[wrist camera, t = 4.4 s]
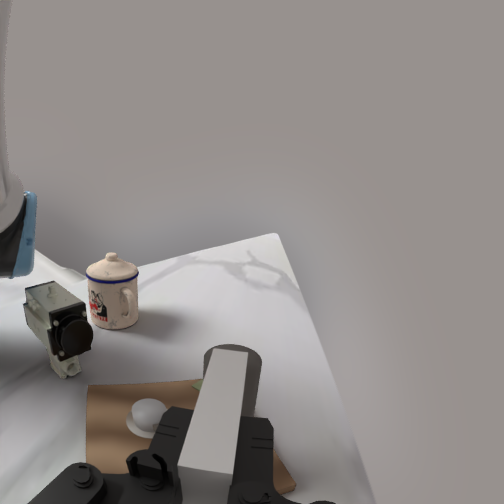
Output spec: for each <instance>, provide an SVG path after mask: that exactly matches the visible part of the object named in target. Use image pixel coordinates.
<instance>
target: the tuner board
mask: <svg viewBox="0 0 504 504" xmlns="http://www.w3.org/2000/svg"><path fill="white" fill-rule="evenodd" d="M202 384H203V379H196V380H186V381H174V382H161V383H144V384H120V385H88V392H87V412H86V463H89V464H91V465H93V466H95V467H96V468H98V469H99V470H100V471H101V473H108V474H125V473H129V470H128V467H127V464H126V459H127V458H128V456H129V455H130V454H132V453H134V452H135V451H138V450H144V449H148V448H149V446H150V443H151V441H152V439H153V436H154V434H155V432H145V431H142V430H140V429H138V428H137V427H136V426H135V424H134V421H133V415H132V406H133V405H134V403H136V402H137V401H139V400H142V399H148V398H149V399H156V400H158V401H160V402H162V403H163V404H164V405H165V406H166V410H168V409H169V408H170V407H171V406H175V407H180V408H186V409H191V410H194V409H195V406H196V403H197V400H198V397H199V393H200V390H201V387H202ZM273 483H274V487H275V489H276V491H277V492H278V493H279V494H280V495H281V494H284V493H287V492H290V491H293V490H294V489H295V486H296V483H295V481H294V480H293V478H292V477H291V475H290V474H289V472H288V471H287V469H286V468H285V466H284V465H283V463H282V461H281V460H280V458H279V457H278V455H277V454H276V452H275V450H274V449H273Z"/></svg>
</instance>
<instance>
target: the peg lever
mask: <svg viewBox="0 0 504 504" xmlns="http://www.w3.org/2000/svg"><path fill="white" fill-rule="evenodd" d="M214 348H216V349H224V350H232V351H240V352H248V358H247V367H246V376H245V385H244V393H243V402H242V410H241V416H247V417H254V411H255V404H256V398H257V392H258V385H259V379H260V372H261V365H262V360H261V357H260V356H259V355H258V354H257V353H256V352H255V351H253V350H252V349H250V348H247V347H244V346H241V345H234V344H224V345H218V346H215V347H213V348H211V349H209V350H208V351H207V352H206V353H205V355H204V371H203V381H204V377H205V374H206V371H207V368H208V365H209V361H210V358H211V355H212V352H213V349H214ZM166 411H167V410H166V406H165V405H164V404H163V403H162V402H160V401H158V400H156V399H149V398H148V399H142V400H139V401H137V402H136V403H134V405H133V406H132V415H133V421H134V424H135V426H136V427H137V428H138V429H140V430H142V431H145V432H155V431H156V429H157V427H158V426H159V422H160V420H161V417H162V415H163V413H164V412H166Z"/></svg>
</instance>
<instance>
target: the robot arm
mask: <svg viewBox="0 0 504 504" xmlns="http://www.w3.org/2000/svg"><path fill="white" fill-rule="evenodd" d="M11 5H12V0H0V278H9V279H13V278H14V277H20V276H27V275H29V274H30V273H31V272H32V270H33V267H34V246H35V224H36V208H37V196H36V194H35V193H32V192H29V191H25V192H24V190H23V185H22V183H21V181H20V179H19V178H18V176H17V175H16V174H15V173H13V172H12V171H10V170H9V163H8V154H7V144H6V131H5V111H4V71H5V54H6V43H7V33H8V25H9V18H10V11H11ZM247 358H248V352H240V351H232V350H224V349H216V348H214V349H213V352H212V355H211V358H210V361H209V365H208V368H207V371H206V374H205V377H204V381H203V384H202V387H201V390H200V393H199V397H198V400H197V403H196V406H195V409H194V410H191V409H186V408H180V407H175V406H171V407H170V408H169V409H168V410H167V411H166V412H164V413H163V415H162V417H161V420H160V422H159V426H158V427H157V429H156V431H155V434H154V436H153V439H152V441H151V443H150V446H149V448H148V449H144V450H138V451H135V452H134V453H132V454H130V455H129V456H128V458H127V459H126V464H127V467H128V470H129V473H125V474H108V473H101V471H100V470H99V469H98V468H96V467H95V466H93V465H91V464H89V463H81V462H79V463H75V464H72V465H70V466H68V467H67V468H66V469H65V470H64V471H62V472H61V473H60V474H59V475H58V476H57V477H56V478H55V479H54V480H53V481H52V482H51V483H50V484H48V485H47V486H46V487H45V488H44V489H43V490H42V491H41V492H40V493H39V494H38V495H37V496H35V497H34V498H33V499H32V500H31V501H30V502H29V503H28V504H300V503H297V502H293V501H290V500H288V499H286V498H284V497H283V496H281V495H280V494H279V493H278V492H277V491H276V489H275V487H274V483H273V427H272V425H271V423H270V421H269V420H268V418H257V417H247V416H241V410H242V402H243V393H244V385H245V376H246V367H247ZM310 504H335V503H333V502H329V501H316V502H313V503H310Z"/></svg>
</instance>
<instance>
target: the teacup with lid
mask: <svg viewBox="0 0 504 504" xmlns="http://www.w3.org/2000/svg"><path fill="white" fill-rule="evenodd" d="M138 274H139V272H138V269H137V267H136V266H135V265H133V264H131V263H129V262H125V261H123V260H122V259H119V258H118V256H117V254H116V253H107V254H106V258H105V259H103V260H101V261H99V262H97V263H95V264H92V265H90V266H89V267H88V269H87V271H86V276H87V279H88V292H89V303H90V313H91V320H92V322H93V323H94V324H95V325H97V326H99V327H101V328H105V329H123V328H127V327H129V326H131V325H133V324H134V323H135V322H136V321H137V320H138V289H137V276H138Z"/></svg>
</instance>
